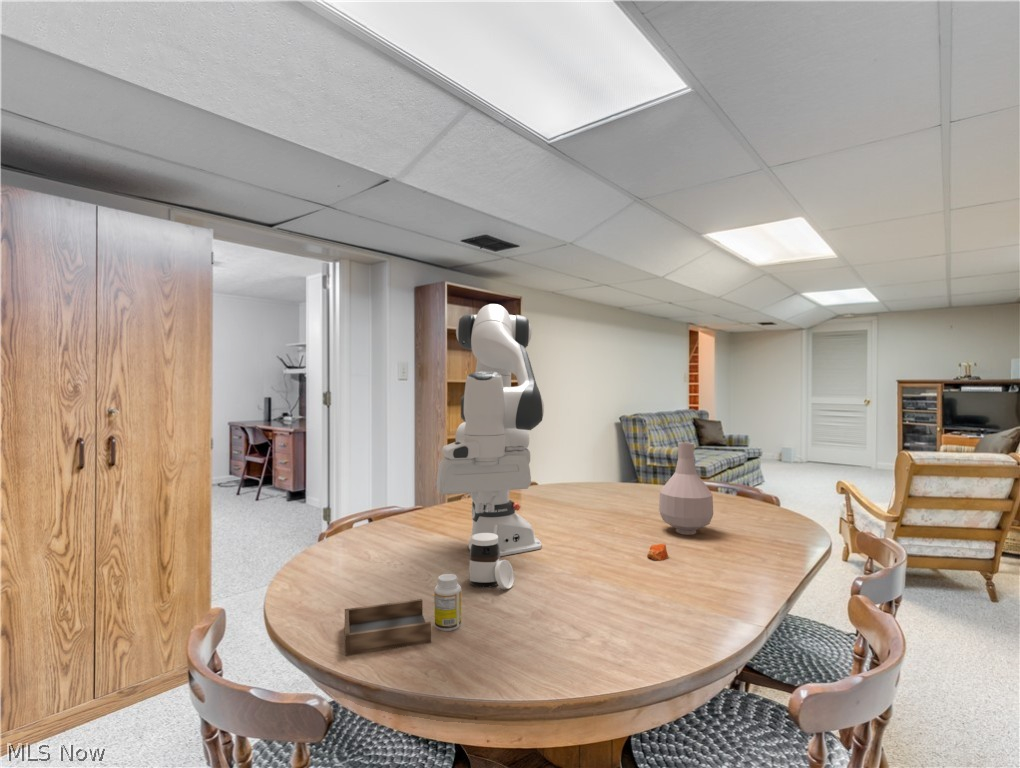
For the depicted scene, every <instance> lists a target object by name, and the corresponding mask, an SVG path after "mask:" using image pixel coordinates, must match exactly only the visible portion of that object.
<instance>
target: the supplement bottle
mask: <svg viewBox="0 0 1020 768" xmlns="http://www.w3.org/2000/svg"><path fill="white" fill-rule="evenodd" d="M433 598H434V602H433V603H434V626H435V628H436V629H437V630H440V631H444V632H449V631H451V632H452V631H455V630H457V629H458V628H459V627H460V626H461V624H462V586H461V585H460V584H459V583H458V576H457V575H456V574H454V573H444V574H441V575H439V576H438V577H437V584H436V586H435V587H434V597H433Z"/></svg>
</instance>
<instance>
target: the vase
mask: <svg viewBox="0 0 1020 768" xmlns="http://www.w3.org/2000/svg"><path fill="white" fill-rule="evenodd" d="M677 443H678V445H677V450H678V451H677V452H678V453H677V455H678V456H677V462H676V466H675V472H673V474H672V476H671V477H670V478H669V479H668V480H667V481H666V483H665V484H664V486H663V487H662V488H661V489H660V491H659V506H658V512H659V513H660V517H661V519H662V521H664V523H666V524H668V525H670V527H673V528H675V532H676V533H677V534H681V535H687V536H689V535H696V534H697V530H699V529H701V528H704V527H707V526H708V525H710V524H711V521H712V519H713V516H714V501H713V500H714V498H713V492H712V491H711V490H710V488H709V487H708V485H706V483H705V482H704V480H703V479H702V478H701V477H700V475H699V474H698V473H697V468H696V463H695V458H694V455H695V454H694V453H695V452H694V444H695V443H694V442H685V441H684V442H677Z"/></svg>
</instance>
